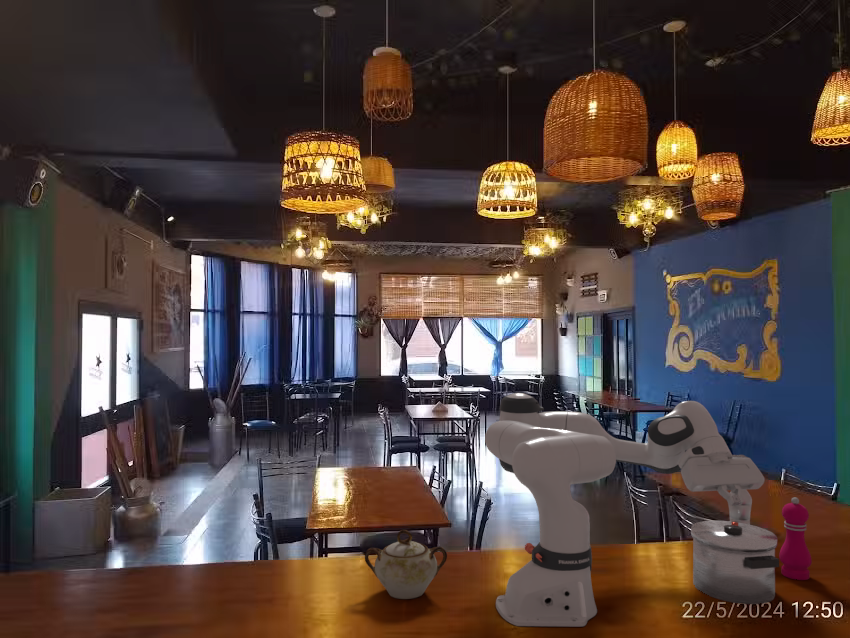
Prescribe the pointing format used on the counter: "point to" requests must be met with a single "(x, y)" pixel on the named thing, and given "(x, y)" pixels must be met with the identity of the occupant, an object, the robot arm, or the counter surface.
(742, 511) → the silver metal bottle
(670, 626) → the counter surface
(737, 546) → the cooker lid
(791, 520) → the pepper mill
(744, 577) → the cooker pot
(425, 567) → the sugar bowl
